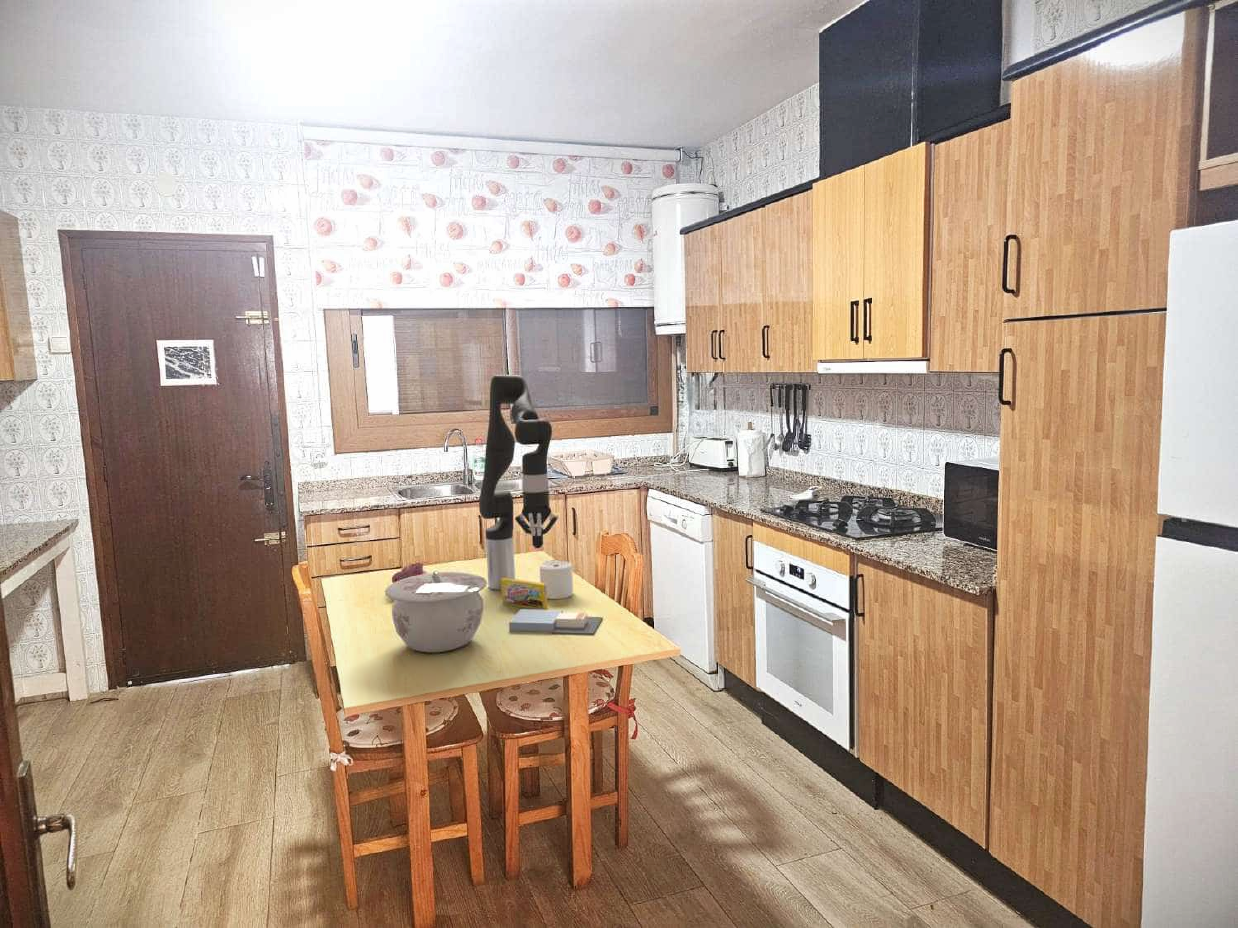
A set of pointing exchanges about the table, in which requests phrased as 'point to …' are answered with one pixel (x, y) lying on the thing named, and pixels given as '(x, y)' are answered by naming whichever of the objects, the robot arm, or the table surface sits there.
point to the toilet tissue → (557, 579)
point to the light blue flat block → (534, 620)
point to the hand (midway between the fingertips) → (537, 547)
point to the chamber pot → (437, 610)
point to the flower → (409, 572)
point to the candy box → (524, 593)
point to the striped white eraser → (571, 620)
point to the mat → (587, 629)
